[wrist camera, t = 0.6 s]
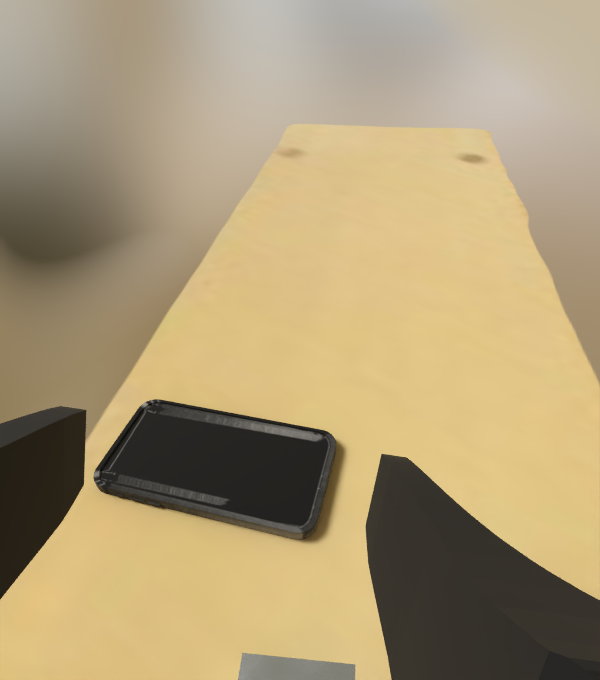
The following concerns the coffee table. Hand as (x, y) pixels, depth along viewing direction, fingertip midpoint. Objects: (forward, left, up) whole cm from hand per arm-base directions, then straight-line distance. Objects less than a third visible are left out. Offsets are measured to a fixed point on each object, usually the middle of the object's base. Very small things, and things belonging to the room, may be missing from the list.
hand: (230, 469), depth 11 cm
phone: (+11, +6, -18) cm, 22 cm away
